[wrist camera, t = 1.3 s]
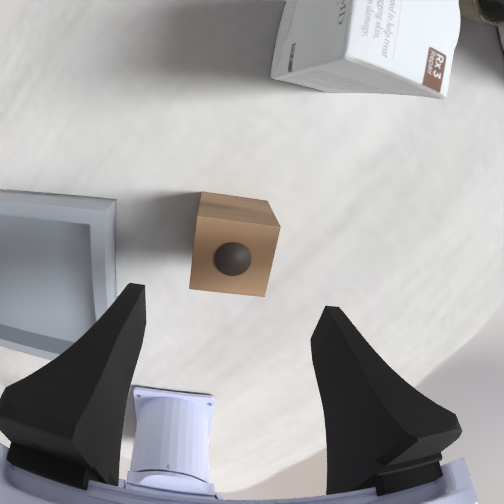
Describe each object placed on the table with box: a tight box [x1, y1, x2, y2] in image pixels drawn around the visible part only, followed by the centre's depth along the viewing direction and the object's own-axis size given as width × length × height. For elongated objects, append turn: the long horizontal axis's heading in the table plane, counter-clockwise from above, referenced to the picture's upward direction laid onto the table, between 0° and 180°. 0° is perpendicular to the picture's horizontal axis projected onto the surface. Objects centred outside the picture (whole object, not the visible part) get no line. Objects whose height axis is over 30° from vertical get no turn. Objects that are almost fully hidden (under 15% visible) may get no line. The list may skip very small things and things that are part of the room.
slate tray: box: [0, 190, 116, 360], centre depth 21 cm, size 14×14×2 cm
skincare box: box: [271, 0, 460, 99], centre depth 12 cm, size 6×4×12 cm
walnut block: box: [189, 192, 280, 297], centre depth 20 cm, size 4×4×5 cm
